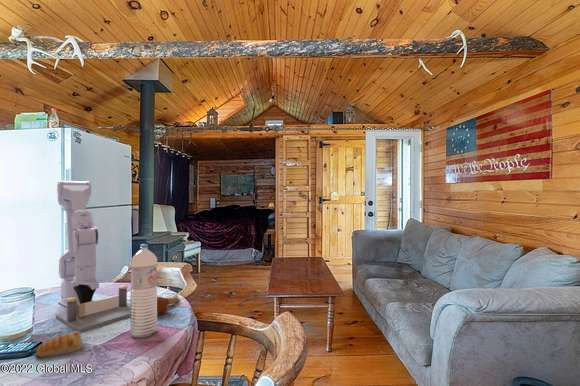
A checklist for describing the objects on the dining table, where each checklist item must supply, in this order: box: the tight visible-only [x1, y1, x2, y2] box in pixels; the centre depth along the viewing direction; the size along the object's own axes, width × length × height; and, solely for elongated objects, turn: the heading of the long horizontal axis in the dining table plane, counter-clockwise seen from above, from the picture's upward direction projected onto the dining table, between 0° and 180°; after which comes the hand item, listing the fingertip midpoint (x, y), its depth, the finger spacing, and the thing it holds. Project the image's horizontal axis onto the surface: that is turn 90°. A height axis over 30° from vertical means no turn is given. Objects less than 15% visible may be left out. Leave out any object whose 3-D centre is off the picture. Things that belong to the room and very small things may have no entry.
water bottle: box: [129, 243, 158, 339], centre depth 90 cm, size 7×7×25 cm
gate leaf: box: [77, 294, 119, 318], centre depth 102 cm, size 12×2×4 cm, turn 144°
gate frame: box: [55, 284, 131, 333], centre depth 103 cm, size 18×19×8 cm
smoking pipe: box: [157, 294, 179, 316], centre depth 110 cm, size 7×18×6 cm, turn 4°
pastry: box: [35, 331, 83, 358], centre depth 80 cm, size 9×7×4 cm
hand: (85, 307), depth 103 cm, fingers closed
